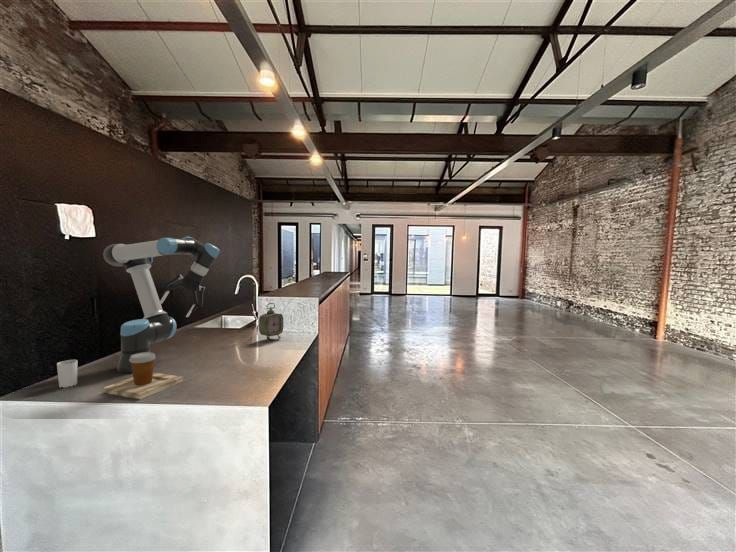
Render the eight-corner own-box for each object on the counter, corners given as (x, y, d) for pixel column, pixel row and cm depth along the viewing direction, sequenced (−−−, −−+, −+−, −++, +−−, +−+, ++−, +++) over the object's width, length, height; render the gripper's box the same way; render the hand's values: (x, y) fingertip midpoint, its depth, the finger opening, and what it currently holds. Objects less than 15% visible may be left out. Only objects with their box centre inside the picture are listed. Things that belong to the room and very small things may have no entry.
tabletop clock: (266, 343, 220) (266, 304, 218) (257, 341, 224) (257, 303, 223) (283, 338, 232) (283, 302, 230) (274, 336, 237) (274, 301, 235)
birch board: (103, 392, 138) (103, 387, 138) (149, 376, 157) (148, 371, 157) (140, 399, 132) (140, 393, 131) (183, 381, 151) (182, 376, 150)
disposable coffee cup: (140, 388, 140) (139, 359, 139) (124, 384, 143) (123, 356, 142) (161, 380, 149) (160, 353, 148) (145, 377, 152) (145, 351, 151)
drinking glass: (67, 382, 149) (66, 359, 149) (82, 382, 149) (81, 359, 148) (53, 387, 143) (52, 364, 142) (68, 388, 142) (67, 364, 142)
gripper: (170, 259, 162) (146, 298, 160) (219, 285, 168) (196, 323, 166) (175, 260, 169) (152, 297, 167) (222, 284, 175) (199, 320, 173)
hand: (173, 310), depth 166 cm, fingers open, 13 cm apart
